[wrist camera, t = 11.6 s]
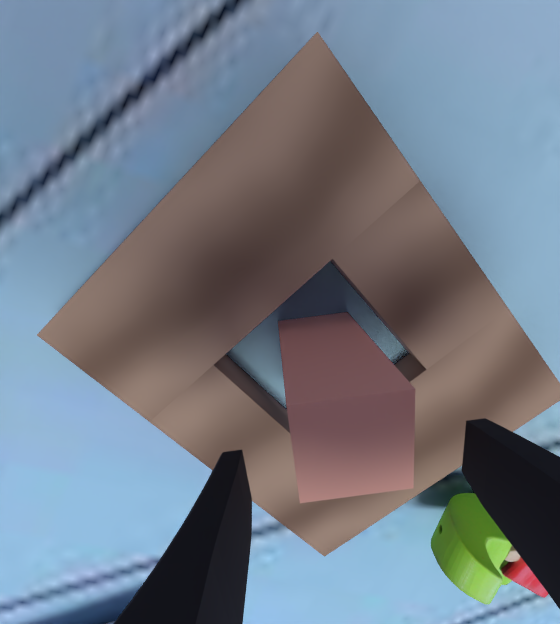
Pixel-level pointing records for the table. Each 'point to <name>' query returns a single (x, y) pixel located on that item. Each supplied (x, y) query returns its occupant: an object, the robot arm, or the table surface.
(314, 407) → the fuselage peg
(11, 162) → the table surface
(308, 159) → the jig board
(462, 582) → the toy crocodile
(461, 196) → the table surface
